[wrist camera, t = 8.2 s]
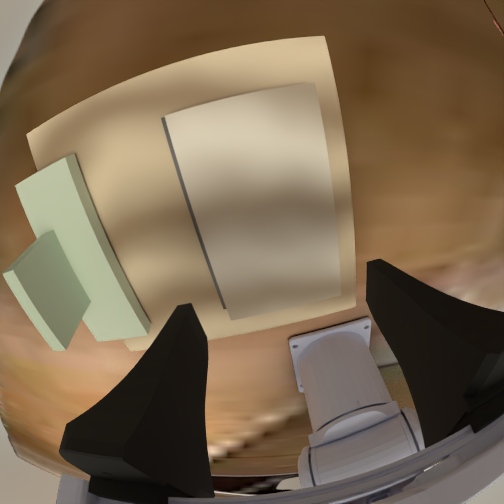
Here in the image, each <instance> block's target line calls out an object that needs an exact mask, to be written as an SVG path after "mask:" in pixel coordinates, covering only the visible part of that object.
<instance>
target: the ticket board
mask: <svg viewBox="0 0 504 504" xmlns="http://www.w3.org/2000/svg"><path fill="white" fill-rule="evenodd" d="M26 135H27V138H28V142H29V145H30V149H31V152H32V155H33V159H34V162H35V165H36V168H37V171H38V172H39V171H41V170H42V169H44V168H46V167H48V166H50V165H51V164H53V163H55V162H57V161H59V160H61V159H63V158H65V157H67V156H69V155H72V154H75V157H76V160H77V163H78V166H79V169H80V172H81V174H82V177H83V180H84V183H85V186H86V188H87V191H88V194H89V196H90V199H91V201H92V204H93V206H94V209H95V211H96V214H97V216H98V219H99V221H100V223H101V226H102V228H103V230H104V233H105V235H106V237H107V239H108V242H109V244H110V246H111V248H112V250H113V253H114V255H115V257H116V259H117V261H118V263H119V265H120V267H121V269H122V271H123V273H124V275H125V277H126V279H127V281H128V283H129V285H130V287H131V289H132V291H133V293H134V295H135V297H136V298H137V300H138V302H139V304H140V306H141V308H142V310H143V311H144V313H145V315H146V317H147V318H148V320H149V322H150V324H151V327H150V330H149V334H148V335H146V336H139V337H132V338H124V339H122V340H123V341H124V343H125V344H126V346H127V347H128V349H129V350H130V351H138V350H147V349H148V348H149V347H150V346H151V344H152V343H153V341H154V340H155V338H156V337H157V335H158V334H159V332H160V331H161V329H162V328H163V327H164V325H165V323H166V322H167V320H168V319H169V317H170V316H171V314H172V313H173V311H174V310H175V308H176V307H177V305H182V304H187V303H192V305H193V308H194V310H195V312H196V314H197V316H198V319H199V321H200V323H201V325H202V327H203V329H204V332H205V334H206V336H207V340H213V339H218V338H224V337H229V336H234V335H240V334H245V333H250V332H255V331H259V330H264V329H269V328H273V327H278V326H282V325H287V324H291V323H295V322H299V321H303V320H307V319H312V318H316V317H319V316H323V315H327V314H331V313H335V312H338V311H342V310H346V309H349V308H353V307H356V262H355V237H354V221H353V207H352V195H351V185H350V175H349V166H348V158H347V150H346V143H345V136H344V129H343V123H342V117H341V111H340V105H339V100H338V95H337V89H336V84H335V79H334V75H333V70H332V66H331V61H330V57H329V53H328V49H327V45H326V41H325V37H324V36H314V37H301V38H291V39H282V40H275V41H268V42H261V43H255V44H249V45H244V46H239V47H234V48H229V49H225V50H220V51H216V52H212V53H208V54H204V55H200V56H197V57H193V58H190V59H186V60H183V61H180V62H176V63H173V64H170V65H167V66H164V67H161V68H158V69H155V70H153V71H150V72H147V73H145V74H142V75H139V76H137V77H134V78H132V79H129V80H127V81H124V82H122V83H120V84H117V85H115V86H113V87H111V88H108V89H106V90H104V91H102V92H100V93H98V94H96V95H94V96H92V97H90V98H88V99H86V100H84V101H82V102H80V103H78V104H76V105H74V106H72V107H71V108H69V109H67V110H65V111H63V112H62V113H60V114H58V115H56V116H55V117H53V118H51V119H50V120H48V121H46V122H45V123H43V124H42V125H40V126H39V127H37V128H35V129H34V130H32V131H31V132H29V133H28V134H26Z"/></svg>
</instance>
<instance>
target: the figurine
mask: <svg viewBox="0 0 504 504" xmlns="http://www.w3.org/2000/svg"><path fill="white" fill-rule="evenodd" d="M484 2H485V0H484ZM485 4H486V2H485ZM486 5H487V4H486ZM487 7H488V5H487ZM488 9H489V7H488ZM489 10H490V9H489ZM490 12H491V10H490ZM491 14H492V12H491ZM492 15H493V14H492ZM493 17H494V15H493ZM494 19H495V17H494ZM495 20H496V19H495ZM496 22H497V20H496ZM494 23H495V21H494ZM495 24H496V23H495ZM497 24H498V22H497ZM497 24H496V26H497ZM498 25H499V24H498ZM497 27H498V26H497ZM499 27H500V25H499ZM500 28H501V27H500ZM498 29H499V28H498ZM499 30H500V29H499ZM501 30H502V28H501ZM502 32H503V30H502ZM502 32H501V33H502ZM503 33H504V32H503Z"/></svg>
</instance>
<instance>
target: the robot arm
mask: <svg viewBox="0 0 504 504" xmlns="http://www.w3.org/2000/svg"><path fill="white" fill-rule="evenodd" d="M366 302H367V304H368V306H369V309H370V311H371V314H372V316H373V318H374V320H375V322H376V324H377V326H378V327H379V329H380V331H381V332H382V334H383V336H384V338H385V339H386V341H387V343H388V344H389V346H390V348H391V350H392V351H393V353H394V355H395V357H396V359H397V360H398V362H399V365H400V367H401V369H402V371H403V374H404V376H405V379H406V382H407V384H408V387H409V390H410V393H411V396H412V398H413V401H414V405H415V408H416V410H414V409H411V408H409V407H404V408H402V409H399V407H398V404H397V402H396V401H392V399H391V396H390V394H389V392H388V390H387V387H386V385H385V383H384V381H383V378H382V376H381V374H380V372H379V370H378V367H377V365H376V363H375V361H374V359H373V357H372V355H371V352H370V350H369V343H370V333H371V319H370V318H368V317H367V318H363V319H359V320H356V321H352V322H349V323H345V324H342V325H338V326H334V327H331V328H327V329H323V330H319V331H315V332H311V333H307V334H303V335H299V336H295V337H292V338H290V339H289V346H290V351H291V355H292V360H293V365H294V370H295V375H296V380H297V385H298V390H299V392H304V394H305V399H306V403H307V407H308V412H309V416H310V420H311V425H312V429H313V434H310V435H309V436H308V437H309V442H310V446H306V447H304V448H303V450H302V453H301V454H300V456H299V459H298V473H299V479H300V483H301V486H302V489H299V490H292V491H286V492H280V493H273V494H265V495H256V496H245V497H229V498H214V497H215V494H214V489H213V484H212V478H211V472H210V465H209V458H208V450H207V439H206V426H205V397H206V384H207V371H208V342H207V336H206V334H205V332H204V329H203V327H202V325H201V323H200V321H199V319H198V316H197V314H196V312H195V310H194V308H193V305H192V303H187V304H182V305H177V307H176V308H175V310H174V311H173V313H172V314H171V316H170V317H169V319H168V320H167V322H166V323H165V325H164V327H163V328H162V329H161V331H160V332H159V334H158V335H157V337H156V338H155V340H154V341H153V343H152V344H151V346H150V347H149V348H148V350H147V351H146V352H145V354H144V355H143V356H142V358H141V359H140V360H139V362H138V363H137V364H136V365H135V366H134V368H133V369H132V370H131V371H130V372H129V373H128V374H127V376H126V377H125V378H124V379H123V380H122V381H121V382H120V383H119V384H118V385H117V386H116V387H115V388H113V389H112V390H111V391H110V392H109V393H108V394H107V395H106V396H105V397H104V398H103V399H101V400H100V401H99V402H98V403H96V404H95V405H94V406H93V407H91V408H90V409H89V410H87V411H86V412H84V413H83V414H81V415H80V416H78V417H77V418H75V419H74V420H72V421H71V422H69V423H67V424H66V427H65V431H64V434H63V438H62V441H61V445H60V449H59V453H60V455H61V456H62V457H63V458H64V459H65V460H66V461H67V462H69V463H70V464H72V465H74V466H75V467H77V468H79V469H80V470H82V471H84V472H85V473H87V474H89V475H91V478H90V482H89V481H87V480H84V479H81V478H77V477H74V476H70V475H66V474H61V479H60V484H59V489H58V494H57V500H56V504H466V502H468V501H469V500H471V499H472V498H473V497H475V496H476V495H478V494H479V493H481V492H482V491H484V490H485V489H486V488H488V487H489V486H490V485H491V484H493V483H494V482H495V481H497V480H498V479H499V478H501V477H502V476H503V475H504V312H501V311H497V310H492V309H488V308H484V307H480V306H477V305H474V304H471V303H468V302H465V301H462V300H460V299H457V298H455V297H452V296H450V295H447V294H445V293H443V292H441V291H439V290H437V289H435V288H433V287H430V286H428V285H427V284H425V283H423V282H421V281H419V280H417V279H415V278H414V277H412V276H410V275H408V274H407V273H405V272H403V271H401V270H400V269H398V268H396V267H394V266H393V265H391V264H389V263H387V262H386V261H384V260H382V259H377V260H373V261H369V262H367V283H366ZM441 461H442V462H441ZM439 462H440V463H439ZM437 463H438V464H437ZM435 464H437V465H435Z"/></svg>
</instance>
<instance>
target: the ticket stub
mask: <svg viewBox="0 0 504 504" xmlns="http://www.w3.org/2000/svg"><path fill="white" fill-rule="evenodd" d="M15 187H16V190H17V192H18V195H19V198H20V200H21V203H22V205H23V208H24V210H25V213H26V215H27V217H28V220H29V222H30V224H31V227H32V229H33V231H34V233H35V235H36V238H37V240H36V241H35V242H34V243H33V244H32V245H31V246H29V247H28V248H27V249H26V250H25V251H24V252H23V253H22V254H21V255H20V256H19V257H18V258H17V259H16V260H15V261H14V262H13V263H12V264H11V265H10V266H9V267H8V269H7V270H6V271H5V272H4V273H3V276H4V278H5V280H6V281H7V283H8V285H9V287H10V288H11V290H12V292H13V293H14V295H15V296H16V298H17V300H18V301H19V303H20V304H21V306H22V308H23V309H24V311H25V312H26V314H27V315H28V317H29V318H30V320H31V321H32V322H33V324H34V325H35V327H36V328H37V329H38V331H39V332H40V334H41V335H42V336H43V338H44V339H45V340H46V342H47V343H48V344H49V345H50V347H51V348H52V349H53V351H63V350H66V349H67V347H68V345H69V343H70V341H71V339H72V337H73V335H74V333H75V331H76V329H77V327H78V325H79V323H80V321H81V319H83V321H84V322H85V324H86V325H87V327H88V328H89V330H90V331H91V333H92V334H93V335H94V337H95V338H96V340H97V341H98V342H100V341H109V340H117V339H124V338H132V337H139V336H146V335H148V334H149V330H150V327H151V324H150V322H149V320H148V318H147V317H146V315H145V313H144V311H143V310H142V308H141V306H140V304H139V302H138V300H137V298H136V297H135V295H134V293H133V291H132V289H131V287H130V285H129V283H128V281H127V279H126V277H125V275H124V273H123V271H122V269H121V267H120V265H119V263H118V261H117V259H116V257H115V255H114V253H113V250H112V248H111V246H110V244H109V242H108V239H107V237H106V235H105V233H104V230H103V228H102V226H101V223H100V221H99V219H98V216H97V214H96V211H95V209H94V206H93V204H92V201H91V199H90V196H89V194H88V191H87V188H86V186H85V183H84V180H83V177H82V174H81V172H80V169H79V166H78V163H77V160H76V157H75V154H72V155H69V156H67V157H65V158H63V159H61V160H59V161H57V162H55V163H53V164H51V165H50V166H48V167H46V168H44V169H42V170H41V171H39V172H37V173H35V174H34V175H32V176H30V177H29V178H27V179H25V180H24V181H22V182H20V183H19V184H17V185H16V186H15Z"/></svg>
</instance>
